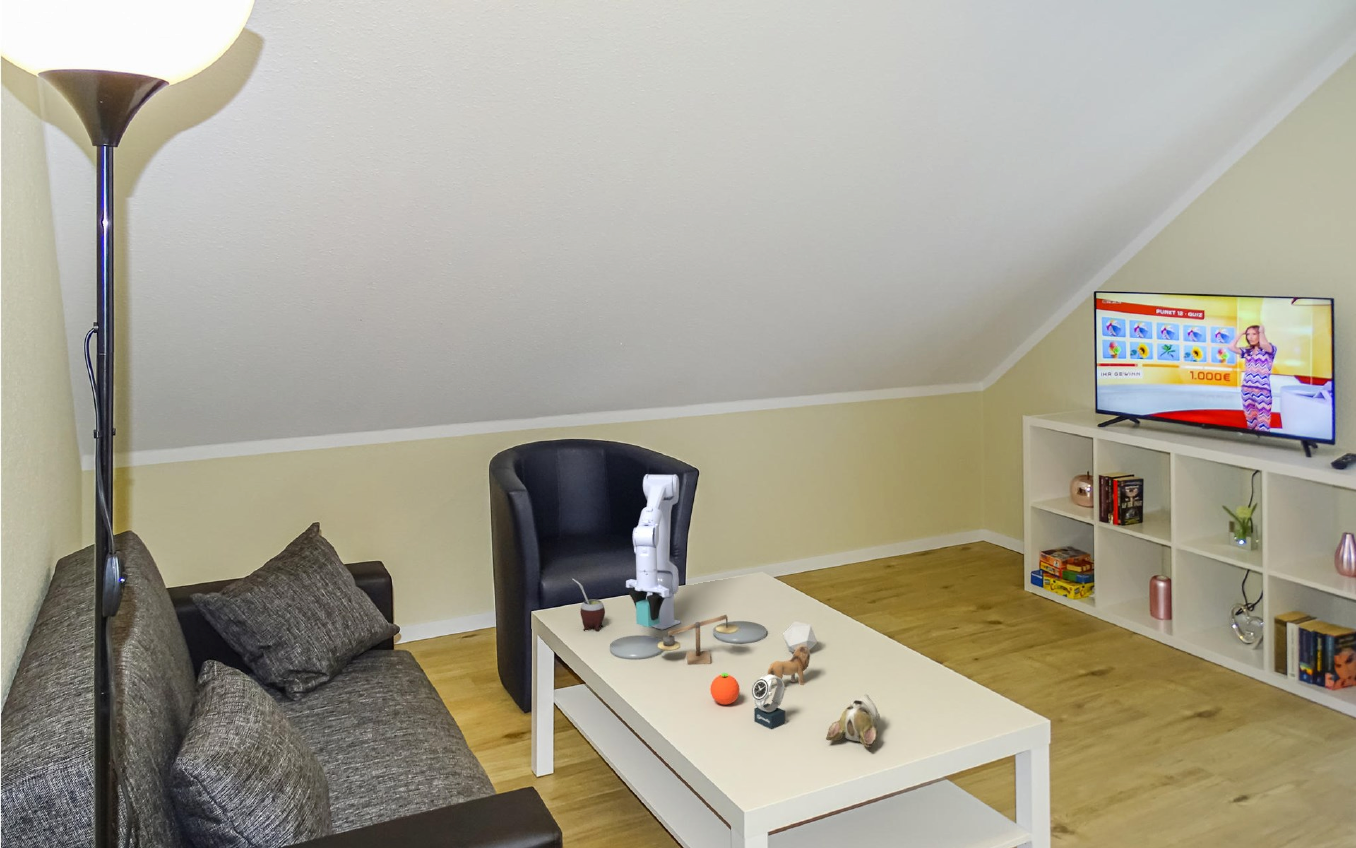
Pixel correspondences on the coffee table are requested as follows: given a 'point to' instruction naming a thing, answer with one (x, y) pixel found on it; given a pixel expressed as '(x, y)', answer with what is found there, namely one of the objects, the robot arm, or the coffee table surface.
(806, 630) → the die
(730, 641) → the grey round disc
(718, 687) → the clementine
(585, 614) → the mate gourd
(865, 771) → the coffee table surface
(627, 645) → the dish low side
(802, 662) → the lion figurine
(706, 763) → the coffee table surface
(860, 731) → the ceramic sculpture
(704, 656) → the balance
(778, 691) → the watch
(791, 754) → the coffee table surface
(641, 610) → the block
